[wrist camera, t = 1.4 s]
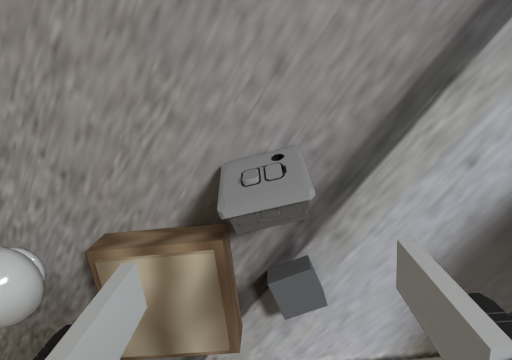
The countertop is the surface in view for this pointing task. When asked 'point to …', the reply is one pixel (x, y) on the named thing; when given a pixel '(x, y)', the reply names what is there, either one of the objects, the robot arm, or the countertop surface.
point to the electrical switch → (265, 190)
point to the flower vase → (19, 285)
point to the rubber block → (296, 287)
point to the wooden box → (177, 289)
